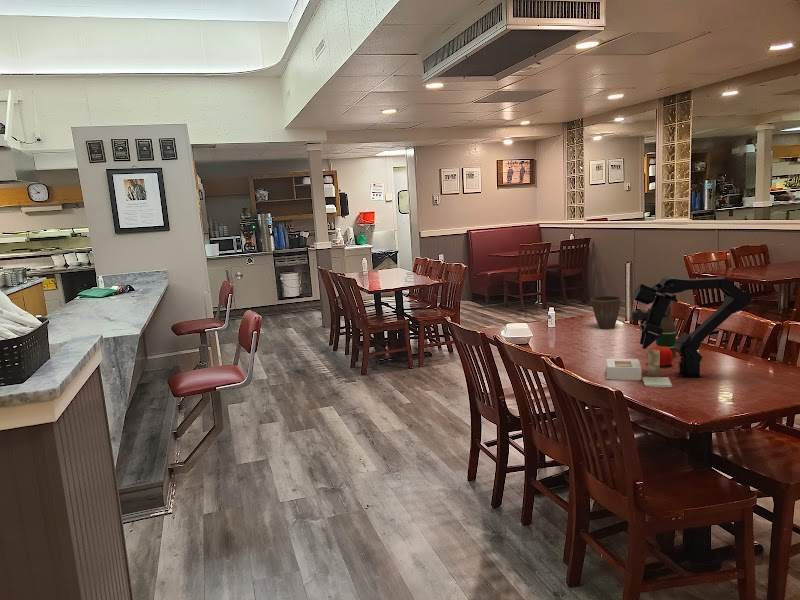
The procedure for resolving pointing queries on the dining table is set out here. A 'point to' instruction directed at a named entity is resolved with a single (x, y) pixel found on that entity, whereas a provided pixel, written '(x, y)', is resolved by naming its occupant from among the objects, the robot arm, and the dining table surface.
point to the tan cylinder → (653, 363)
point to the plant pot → (606, 310)
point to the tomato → (664, 355)
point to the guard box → (623, 369)
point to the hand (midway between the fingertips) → (642, 346)
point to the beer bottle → (668, 333)
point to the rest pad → (657, 381)
